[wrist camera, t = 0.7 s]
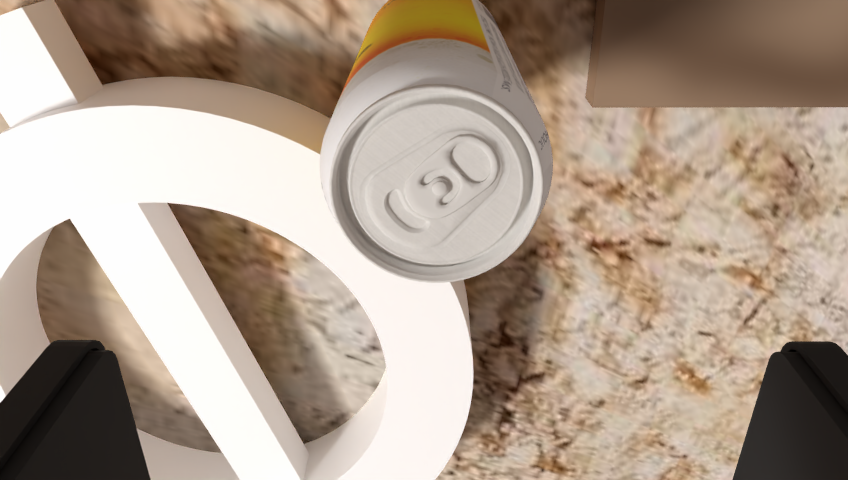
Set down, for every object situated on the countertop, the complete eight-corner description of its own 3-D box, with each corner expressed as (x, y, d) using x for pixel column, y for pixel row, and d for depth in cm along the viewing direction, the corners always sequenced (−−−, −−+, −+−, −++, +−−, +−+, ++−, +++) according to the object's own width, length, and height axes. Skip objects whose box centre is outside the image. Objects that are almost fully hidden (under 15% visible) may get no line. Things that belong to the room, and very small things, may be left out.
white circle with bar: (347, 544, 46) (339, 610, 42) (-74, 405, 40) (-133, 465, 36) (565, 227, 34) (584, 275, 30) (9, -39, 28) (-65, -25, 24)
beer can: (336, 46, 29) (261, 181, 16) (441, -51, 27) (452, 11, 14) (426, 144, 31) (424, 333, 18) (528, 60, 30) (609, 204, 16)
